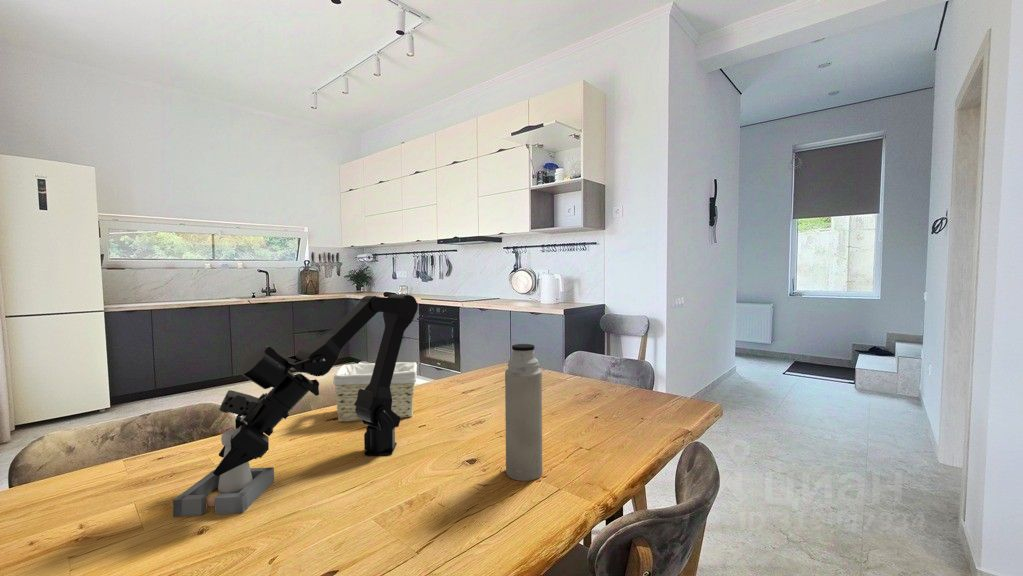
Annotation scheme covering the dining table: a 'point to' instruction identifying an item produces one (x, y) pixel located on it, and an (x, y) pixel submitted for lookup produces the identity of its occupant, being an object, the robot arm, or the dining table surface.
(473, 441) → the dining table surface
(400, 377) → the storage basket
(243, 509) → the grey square frame
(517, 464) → the thermos bottle
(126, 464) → the dining table surface
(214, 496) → the plunger left
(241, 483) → the salt shaker
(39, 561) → the dining table surface
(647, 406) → the dining table surface
